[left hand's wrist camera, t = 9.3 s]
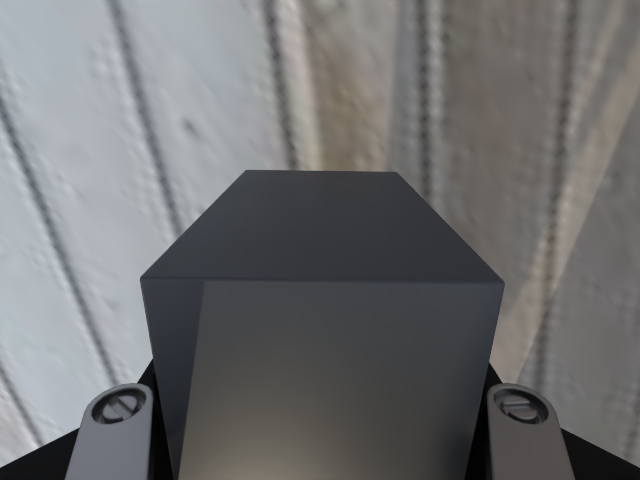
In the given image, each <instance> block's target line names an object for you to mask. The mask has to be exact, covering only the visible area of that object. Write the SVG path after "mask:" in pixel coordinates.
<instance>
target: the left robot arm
mask: <svg viewBox="0 0 640 480" xmlns="http://www.w3.org/2000/svg"><path fill="white" fill-rule="evenodd" d="M0 480H174V479H173V473H172V467H171V461H170V455H169V449H168V443H167V437H166V431H165V425H164V419H163V414H162V408H161V402H160V396H159V390H158V384H157V378H156V372H155V366H154V360H153V359H152V361H151V362H150V364H149V365H148V367H147V368H146V370H145V372H144V373H143V375H142V376H141V378H140V379H139V381H138V382H137V383H129V384H122V385H119V386H116V387H113V388H111V389H108V390H106V391H104V392H103V393H101V394H100V395H98V396H97V397H95V398H94V399H93V400H92V401H91V402H90V404H89V405H88V406H87V408H86V410H85V412H84V415H83V418H82V421H81V425H80V428H78V429H76V430H74V431H72V432H70V433H68V434H66V435H64V436H62V437H60V438H58V439H56V440H54V441H52V442H50V443H48V444H46V445H44V446H42V447H40V448H38V449H36V450H34V451H32V452H30V453H28V454H27V455H25V456H23V457H21V458H19V459H17V460H15V461H13V462H11V463H9V464H7V465H5V466H3V467H1V468H0ZM465 480H640V468H639V467H637V466H635V465H633V464H631V463H629V462H627V461H625V460H623V459H621V458H619V457H617V456H615V455H613V454H611V453H609V452H607V451H605V450H603V449H601V448H599V447H597V446H595V445H593V444H592V443H590V442H588V441H586V440H584V439H582V438H580V437H578V436H576V435H574V434H572V433H570V432H568V431H566V430H564V429H562V428H560V425H559V421H558V418H557V415H556V412H555V410H554V408H553V406H552V405H551V404H550V402H549V401H548V400H547V399H546V398H545V397H543V396H542V395H540V394H539V393H537V392H536V391H534V390H532V389H529V388H527V387H524V386H521V385H518V384H511V383H502V381H501V380H500V378H499V377H498V375H497V374H496V372H495V370H494V369H493V367H492V366H491V364H490V363H488V368H487V373H486V378H485V383H484V388H483V393H482V397H481V402H480V407H479V412H478V417H477V422H476V427H475V431H474V436H473V441H472V446H471V451H470V456H469V461H468V465H467V470H466V475H465Z"/></svg>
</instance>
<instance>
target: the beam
mask: <svg viewBox="0 0 640 480" xmlns="http://www.w3.org/2000/svg"><path fill="white" fill-rule="evenodd" d="M140 283H141V289H142V295H143V301H144V307H145V313H146V319H147V325H148V331H149V337H150V342H151V348H152V354H153V360H154V366H155V372H156V378H157V384H158V390H159V396H160V402H161V408H162V414H163V419H164V425H165V431H166V437H167V443H168V449H169V455H170V461H171V467H172V473H173V479H174V480H465V475H466V470H467V465H468V461H469V456H470V451H471V446H472V441H473V436H474V431H475V427H476V422H477V417H478V412H479V407H480V402H481V397H482V393H483V388H484V383H485V378H486V373H487V368H488V363H489V359H490V354H491V349H492V344H493V339H494V334H495V329H496V325H497V320H498V315H499V310H500V305H501V300H502V295H503V291H504V286H505V283H504V281H503V280H502V279H501V278H500V277H499V276H498V275H497V274H496V273H495V272H494V271H493V270H492V269H491V268H490V267H489V266H488V265H487V264H486V263H485V262H484V261H483V260H482V259H481V258H480V257H479V255H478V254H477V253H476V252H475V251H474V250H473V249H472V248H471V247H470V246H469V245H468V244H467V243H466V242H465V241H464V240H463V239H462V238H461V237H460V236H459V235H458V234H457V233H456V232H455V231H454V230H453V229H452V228H451V227H450V226H449V225H448V224H447V223H446V222H445V221H444V220H443V219H442V218H441V217H440V216H439V215H438V214H437V213H436V212H435V211H434V210H433V209H432V208H431V207H430V206H429V205H428V204H427V203H426V202H425V200H424V199H423V198H422V197H421V196H420V195H419V194H418V193H417V192H416V191H415V190H414V189H413V188H412V187H411V186H410V185H409V184H408V183H407V182H406V181H405V180H404V179H403V178H402V177H401V176H400V175H399V174H398V173H397V172H357V171H286V170H245V171H244V172H243V173H242V174H241V175H240V176H239V177H238V178H237V180H236V181H235V182H234V183H233V184H232V185H231V186H230V187H229V188H228V189H227V190H226V191H225V192H224V193H223V194H222V195H221V196H220V197H219V198H218V199H217V200H216V201H215V202H214V203H213V204H212V205H211V206H210V207H209V208H208V209H207V210H206V211H205V212H204V213H203V214H202V215H201V216H200V217H199V218H198V219H197V220H196V221H195V222H194V223H193V224H192V225H191V226H190V227H189V228H188V229H187V230H186V231H185V232H184V233H183V234H182V235H181V236H180V237H179V238H178V239H177V240H176V241H175V242H174V243H173V244H172V245H171V247H170V248H169V249H168V250H167V251H166V252H165V253H164V254H163V255H162V256H161V257H160V258H159V259H158V260H157V261H156V262H155V263H154V264H153V265H152V266H151V267H150V268H149V269H148V270H147V271H146V272H145V273H144V274H143V275H142V276H141V277H140Z"/></svg>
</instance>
